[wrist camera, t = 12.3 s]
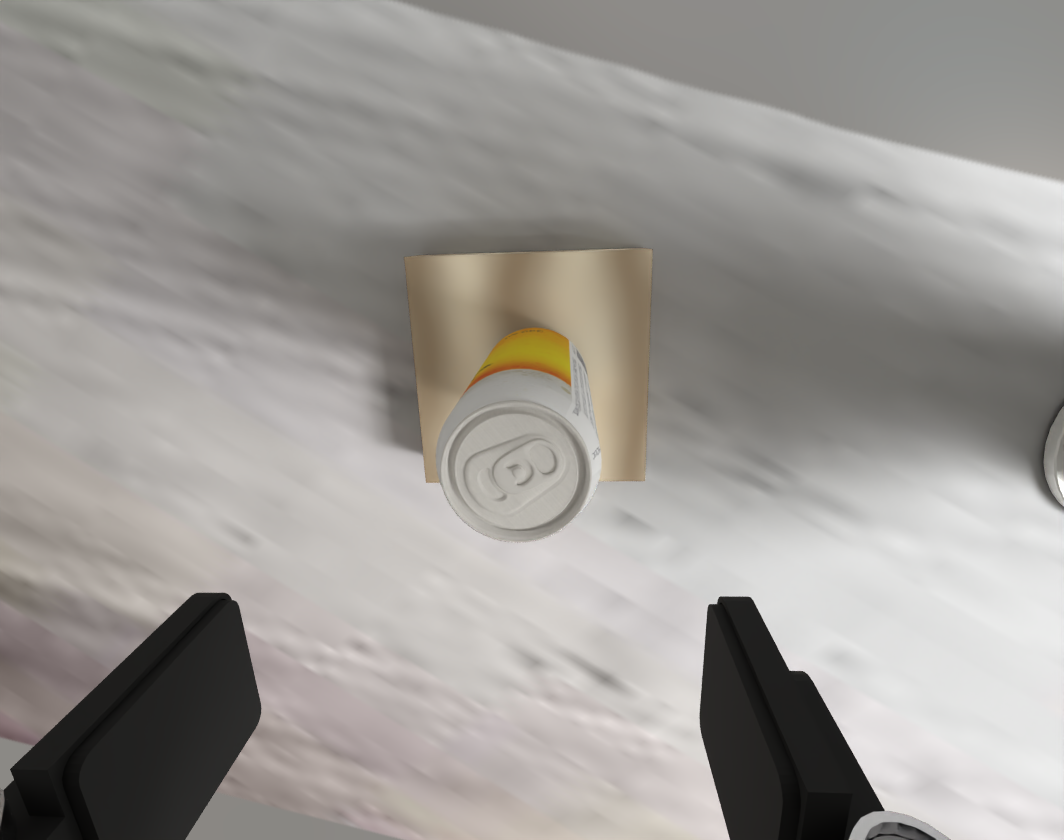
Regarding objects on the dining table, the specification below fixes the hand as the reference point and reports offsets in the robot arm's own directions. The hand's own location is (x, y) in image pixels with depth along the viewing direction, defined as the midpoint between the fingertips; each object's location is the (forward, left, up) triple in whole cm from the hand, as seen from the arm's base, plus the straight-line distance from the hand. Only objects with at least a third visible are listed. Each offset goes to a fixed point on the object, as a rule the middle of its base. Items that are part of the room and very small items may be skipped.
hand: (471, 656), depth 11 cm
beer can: (0, 0, -24) cm, 24 cm away
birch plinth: (0, 0, -28) cm, 28 cm away
